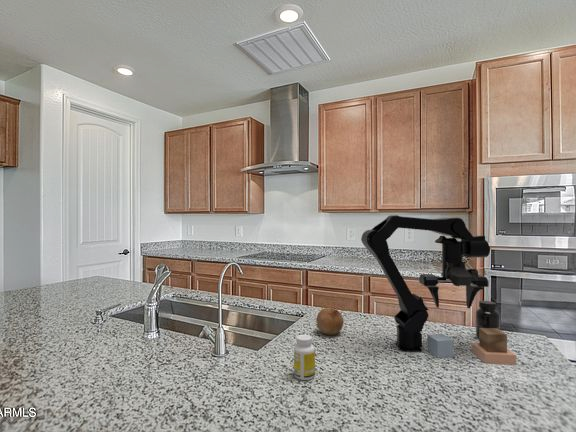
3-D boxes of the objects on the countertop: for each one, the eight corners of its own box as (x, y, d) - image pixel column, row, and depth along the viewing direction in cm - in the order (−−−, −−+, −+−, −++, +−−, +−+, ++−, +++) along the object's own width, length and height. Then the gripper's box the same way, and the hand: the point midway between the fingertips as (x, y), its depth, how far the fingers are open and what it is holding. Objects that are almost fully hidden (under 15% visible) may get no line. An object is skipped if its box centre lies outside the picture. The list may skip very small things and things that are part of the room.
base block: (485, 364, 87) (485, 353, 87) (471, 352, 95) (471, 342, 95) (516, 366, 86) (516, 355, 86) (500, 353, 94) (500, 343, 94)
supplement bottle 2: (504, 343, 101) (503, 305, 101) (480, 341, 102) (480, 304, 103) (494, 335, 108) (494, 300, 108) (472, 334, 109) (472, 299, 109)
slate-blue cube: (437, 358, 91) (437, 340, 91) (427, 351, 96) (427, 334, 96) (453, 357, 91) (453, 339, 91) (442, 350, 96) (442, 333, 96)
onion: (339, 344, 108) (348, 322, 105) (312, 337, 109) (320, 314, 105) (338, 326, 117) (346, 304, 114) (313, 319, 117) (321, 297, 114)
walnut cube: (487, 352, 89) (487, 334, 89) (479, 344, 94) (478, 327, 94) (507, 352, 88) (506, 334, 88) (497, 345, 93) (497, 328, 93)
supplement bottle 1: (317, 372, 83) (317, 334, 83) (312, 382, 78) (311, 342, 78) (297, 369, 84) (297, 332, 85) (291, 379, 79) (290, 339, 79)
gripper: (429, 260, 92) (430, 314, 92) (498, 261, 90) (499, 316, 90) (418, 256, 103) (418, 304, 103) (479, 256, 101) (479, 305, 101)
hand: (452, 307), depth 99 cm, fingers open, 9 cm apart
